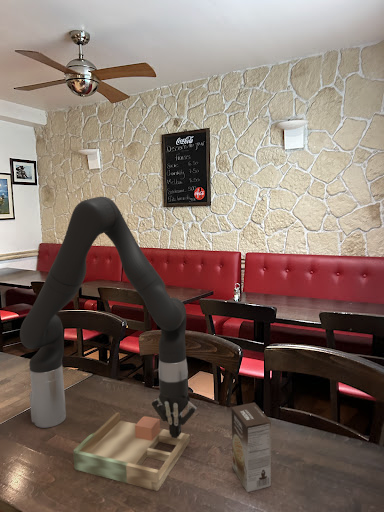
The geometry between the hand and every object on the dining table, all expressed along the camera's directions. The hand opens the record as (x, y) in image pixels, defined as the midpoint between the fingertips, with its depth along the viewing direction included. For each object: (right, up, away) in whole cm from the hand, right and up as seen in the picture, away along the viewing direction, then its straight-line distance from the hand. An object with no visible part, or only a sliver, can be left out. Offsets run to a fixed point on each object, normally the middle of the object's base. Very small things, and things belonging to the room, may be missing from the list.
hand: (175, 436), depth 103 cm
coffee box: (+19, -4, -12) cm, 22 cm away
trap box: (-10, -4, -2) cm, 11 cm away
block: (-8, -1, +3) cm, 8 cm away
